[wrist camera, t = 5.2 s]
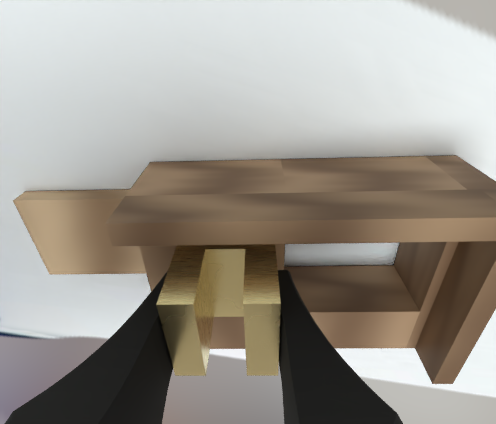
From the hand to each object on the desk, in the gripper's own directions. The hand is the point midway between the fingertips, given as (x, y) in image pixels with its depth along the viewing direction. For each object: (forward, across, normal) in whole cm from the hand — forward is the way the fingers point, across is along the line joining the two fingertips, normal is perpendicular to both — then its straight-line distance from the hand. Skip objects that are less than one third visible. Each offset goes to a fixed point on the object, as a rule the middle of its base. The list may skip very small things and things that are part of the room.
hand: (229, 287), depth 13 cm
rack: (+5, +1, +1) cm, 5 cm away
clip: (+1, 0, 0) cm, 1 cm away
